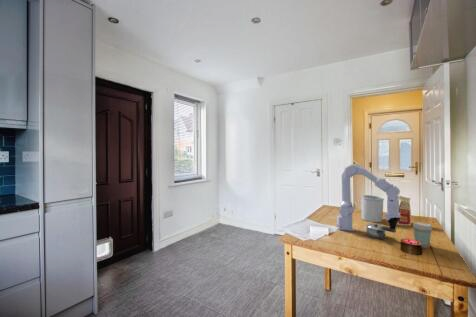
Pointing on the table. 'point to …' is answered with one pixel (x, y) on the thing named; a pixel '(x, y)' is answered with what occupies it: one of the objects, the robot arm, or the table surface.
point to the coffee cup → (422, 233)
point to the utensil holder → (372, 208)
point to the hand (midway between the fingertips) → (392, 229)
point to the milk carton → (404, 211)
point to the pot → (376, 233)
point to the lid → (380, 227)
